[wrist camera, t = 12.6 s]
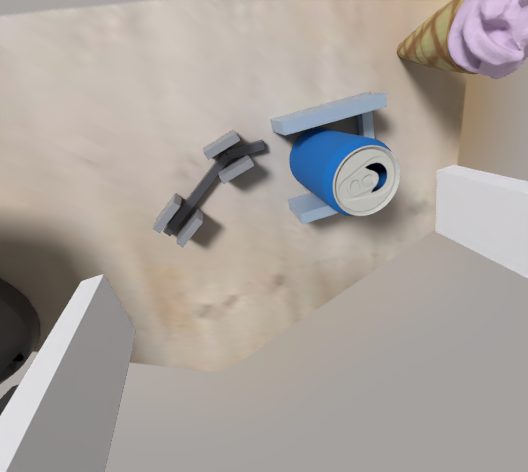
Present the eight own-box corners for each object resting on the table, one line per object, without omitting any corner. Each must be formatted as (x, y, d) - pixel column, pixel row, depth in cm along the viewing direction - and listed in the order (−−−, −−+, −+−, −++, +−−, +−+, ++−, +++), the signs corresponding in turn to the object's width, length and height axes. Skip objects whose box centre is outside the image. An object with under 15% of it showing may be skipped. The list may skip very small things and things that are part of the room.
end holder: (289, 209, 36) (302, 224, 32) (270, 119, 32) (281, 122, 27) (373, 183, 37) (397, 194, 33) (365, 92, 33) (391, 91, 28)
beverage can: (347, 171, 36) (411, 200, 25) (298, 194, 36) (341, 233, 25) (332, 117, 33) (397, 124, 22) (279, 142, 33) (317, 161, 22)
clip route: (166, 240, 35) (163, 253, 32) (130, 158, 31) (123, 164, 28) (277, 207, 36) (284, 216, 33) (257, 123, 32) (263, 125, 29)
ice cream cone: (442, 25, 31) (624, -34, 18) (421, 90, 34) (569, 81, 20) (386, 9, 30) (540, -68, 16) (368, 79, 32) (490, 61, 19)
